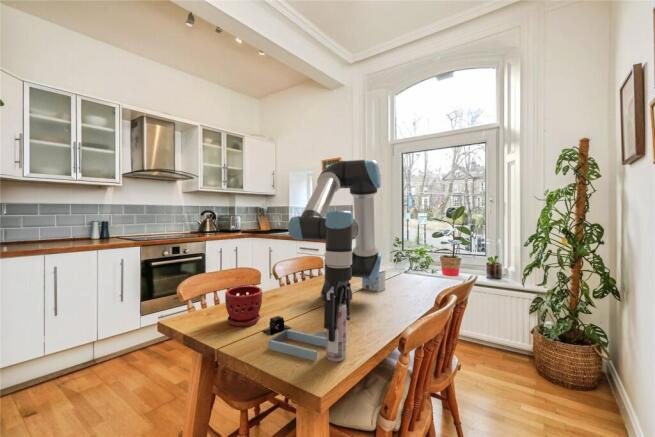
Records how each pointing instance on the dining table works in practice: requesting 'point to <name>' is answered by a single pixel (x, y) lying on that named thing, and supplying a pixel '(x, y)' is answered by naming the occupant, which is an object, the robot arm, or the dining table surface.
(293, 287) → the dining table surface
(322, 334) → the grey round disc
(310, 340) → the channel
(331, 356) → the beverage can
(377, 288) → the light bulb box
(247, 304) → the plant pot
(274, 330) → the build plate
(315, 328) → the dining table surface
